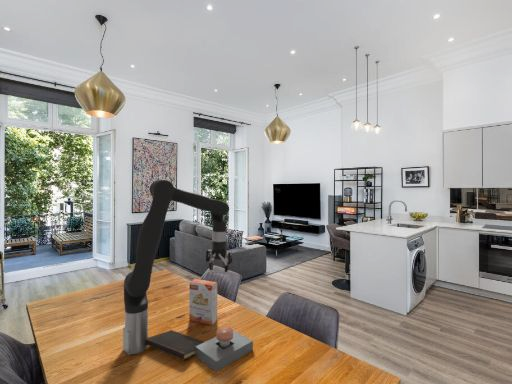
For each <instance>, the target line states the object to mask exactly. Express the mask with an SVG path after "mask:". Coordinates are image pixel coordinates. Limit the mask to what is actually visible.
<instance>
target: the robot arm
mask: <svg viewBox="0 0 512 384" xmlns="http://www.w3.org/2000/svg"><path fill="white" fill-rule="evenodd" d="M148 191H149V193H150V195H151V196H152V200H151V201H152V202H151V206H150V208H149V210H148V213H147V214H146V216H145V218H144V220H143V222H142V225H141V227H140V229H139V233H138V237H137V241H136V250H135V252H136V253H135V255H136V257H135V264H134V267H133V270H132V271H130V272H129V273H128V274H127V275H126V276H125V278H124V281H123V303H124V327H123V328H122V350H123V352H125V353H126V355H127V356H130V355H136V354H140V353H143V352H144V351H146V350H147V349H148V345H146V340H147V338H149V323H148V322H149V301H148V296H147V291H148V290H149V288H150V285H151V278H152V274H153V273H152V272H153V267H154V263H155V258H156V256H157V251H158V249H159V245H160V242H161V238H162V234H163V231H164V226H165V222H166V217H167V213H168V210H169V206H170V204H171V201H172V202H176V203H180V204H183V205H186V206H188V207H191V208H195V209H198V210H200V211H205V212H210V215H211V220H212V233H211V234H212V235H211V240H212V241H211V249H207V250H206V251H205V262H207V263H208V268H209V271H212V270H214V261H215V260H219V261H222V262H223V263H224V273H228V271H229V266H230V265H231V264H233V252H232V251H227V243H228V242H227V240H228V238H227V221H226V220H225V219H224V216H225V215H227V214H228V213H229V212H230V206H229V204H228V203H227V202H225V201H222V200H219V199H213V198H211V197H208V196H205V195H202V194H199V193H196V192H192V191H187V190H183V189H179V188H177V187H175V186H174V184H173V182H171V180H168V179H157V180H154V181H153V182H152V183H151V184H150V185H149V190H148ZM211 255H212V256H211Z"/></svg>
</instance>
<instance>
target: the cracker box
mask: <svg viewBox="0 0 512 384" xmlns="http://www.w3.org/2000/svg"><path fill="white" fill-rule="evenodd" d="M188 303H189V304H188V305H189V307H188V308H189V310H188V312H189V315H188V317H189V318H188V319H189V321H191V322H197V323H200V324H204V325H208V326H213V325H214V324H215V323H216V322H217V321H218V282H217V281H212V280H205V279H198V278H194V279H193V280H190V281H189V302H188Z"/></svg>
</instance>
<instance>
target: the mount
mask: <svg viewBox="0 0 512 384" xmlns="http://www.w3.org/2000/svg"><path fill="white" fill-rule="evenodd" d="M253 350H254V341H253V339H250V338H249V337H247V336H245V335H243V334H241V333H240V332H238V331H236V330H234V329H233V338H232V340H230V346H229V347H227V348H222V347H220V341H219V340H217V336H214V337H212V338H211V339H207V340H206V341H204V343H202V344H200V345H198V346H196V352H195V354H196V355H194V356H195V357H196V358H197V359H199V360H200V361H201V362H202V363H204V364H205V365H206V366H208V367H209V368H210V369H212V370H213V371H214V372H215V373H217V372H218V371H220V370H221V369H223V368H226V367H227V366H228V365H230V364H232V363H233V362H235V361H237V360H239V359H240V358H242V357H244V356H245V355H247V354H248V353H251V352H252V351H253Z"/></svg>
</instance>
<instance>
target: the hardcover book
mask: <svg viewBox="0 0 512 384" xmlns="http://www.w3.org/2000/svg"><path fill="white" fill-rule="evenodd" d="M204 342H205V341H204V340H201V339H199V338H195V337H192V336H190V335H186V334H184V333H181V332H178V331H175V330H172V329H171V330H167V331H164V332H161V333H159V334H155V335H152V336H150V337H149V336H148V338H147V340H146V345H148V346H149V347H151V348H154V349H156V350H157V351H161V352H163V353H165V354H168V355H170V356H172V357H175V358H178V359H180V360H183V361H185V360H189V359H190V358H192V357H194V356H195V355H196V354H195V352H196V346H198V345H200V344H202V343H204Z"/></svg>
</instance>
